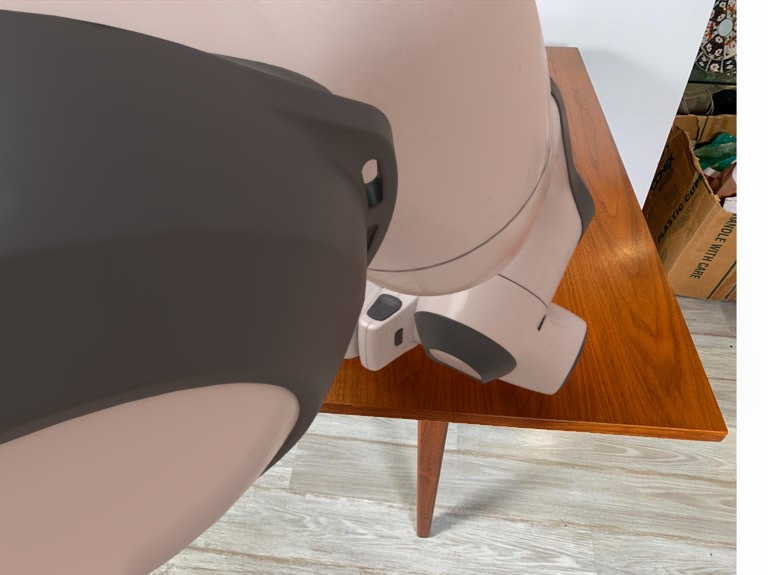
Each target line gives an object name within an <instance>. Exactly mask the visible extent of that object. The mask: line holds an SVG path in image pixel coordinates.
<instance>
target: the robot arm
mask: <svg viewBox="0 0 768 575" xmlns="http://www.w3.org/2000/svg"><path fill="white" fill-rule="evenodd" d="M547 56H548V54H547V50H546V45H545V41H544V36H543V31H542V26H541V20H540V17H539V11H538V6H537V2H536V0H0V575H150V574H151V573H153V572H154V571H156V570H157V569H159V568H160V567H162V566H163V565H164V564H166V563H168V562H169V561H171V560H172V559H173V558H175V557H176V556H177V555H178V554H180V553H181V552H182V551H183V550H185V549H186V548H187V547H189V545H191V544H192V543H193V542H195V541H196V540H197V539H198V538H199V537H200V536H202V535H203V534H204V533H205V532H206V531H207V530H209V529H210V528H211V527H213V525H215V524H216V523H217V522H218V521H219V520H220V519H222V518H223V517H224V516H225V515H226V513H227V512H229V510H230V509H232V507H233V506H234V505H235V504H236V503H237V502H238V501H239V500H240V498H242V497H243V495H244V494H245V493H246V492H247V491H248V490H249V489H250V488H251V487H252V486H253V485H254V484H255V482H256V481H257V480H258V479H259V478H261V477H262V476H263V475H264V474H265V473H267V472H268V471H269V470H271V468H272V467H273V466H275V465H277V463H278V462H279V461H281V459H283V458H284V456H286V455H287V454H288V453H289V452H290V451H291V450H292V449H293V448H294V447H295V446H296V444H298V442H300V440H301V439H302V438H303V436H304V435H305V434H306V433H307V432H308V430H309V429H310V427H311V425H312V424H313V422H314V421H315V419H316V417H317V416H318V414H319V412H320V410H321V408H322V406H323V404H324V402H325V400H326V398H327V395H328V394H329V392H330V390H331V388H332V386H333V384H334V382H335V379H336V377H337V375H338V374H339V371H340V368H341V366H342V364H343V361H344V360H346V359H355V358H357V357H359V361H360V364H361V366H362V367H364V368H365V369H367V370H370V371H371V372H372V371H373V372H376V371H379V370H381V369H383V368H384V367H386V366H387V365H389V364H390V363H391V362H393V361H394V360H396V359H397V358H398V357H400V356H402V355H403V354H404V353H406V352H409V351H410V350H412V349H413V348H416V347H417V346H418V345H419V344H420V345H421V346H422V349H423V350H424V353H425V355H426V357H428V359H430V360H432V361H434V362H436V363H438V364H440V365H443V366H446V367H448V368H451V369H453V370H454V371H457V372H459V373H460V374H464V375H465V376H468V377H470V378H472V379H473V380H475V381H478V382H479V383H480V384H482V385H484V384H487V383H489V382H492V381H495V380H500V381H503V382H506V383H508V384H511V385H514V386H517V387H520V388H523V389H527V390H529V391H533V392H536V393H540V394H544V395H549V396H550V395H554V394H556V393H557V392H558V391H560V390H562V389H563V387H564V386H565V385H566V384H567V383H568V381H569V379H570V377H571V375H572V374H573V373H574V371H575V369H576V367H577V365H578V362H579V361H580V359H581V356H582V354H583V352H584V348H585V345H586V341H587V337H588V325H587V322H586V321H585V320H584V319H583V318H581V317H580V316H578V315H576V313H573V312H572V311H570V310H568V309H566V308H565V307H563V306H561V305H558V304H557V303H556V302H553V301H552V300H553V299H554V297H555V295H556V293H557V290H558V288H559V286H560V283H561V281H562V280H563V277H564V274H565V272H566V270H567V268H568V266H569V264H570V262H571V259H572V258H573V255H574V252H575V250H576V248H577V247H578V245H579V244H580V243H581V241H582V239H583V237H584V236H585V233H586V232H587V230H588V228H589V226H590V224H591V222H592V221H593V219H594V217H595V214H596V205H595V202H594V199H593V198H594V197H593V195H592V193H591V190H590V189H589V186H588V184H587V183H586V181H585V180H584V178H583V176H582V175H581V174H580V172H579V171H578V170H577V168H576V166H575V160H574V156H573V148H572V141H571V134H570V127H569V119H568V113H567V108H566V104H565V101H564V98H563V94H562V93H561V90H560V88H559V87H558V85H557V82H556V81H555V80H554V78H552V76H551V75H550V70H549V63H548V57H547Z"/></svg>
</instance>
